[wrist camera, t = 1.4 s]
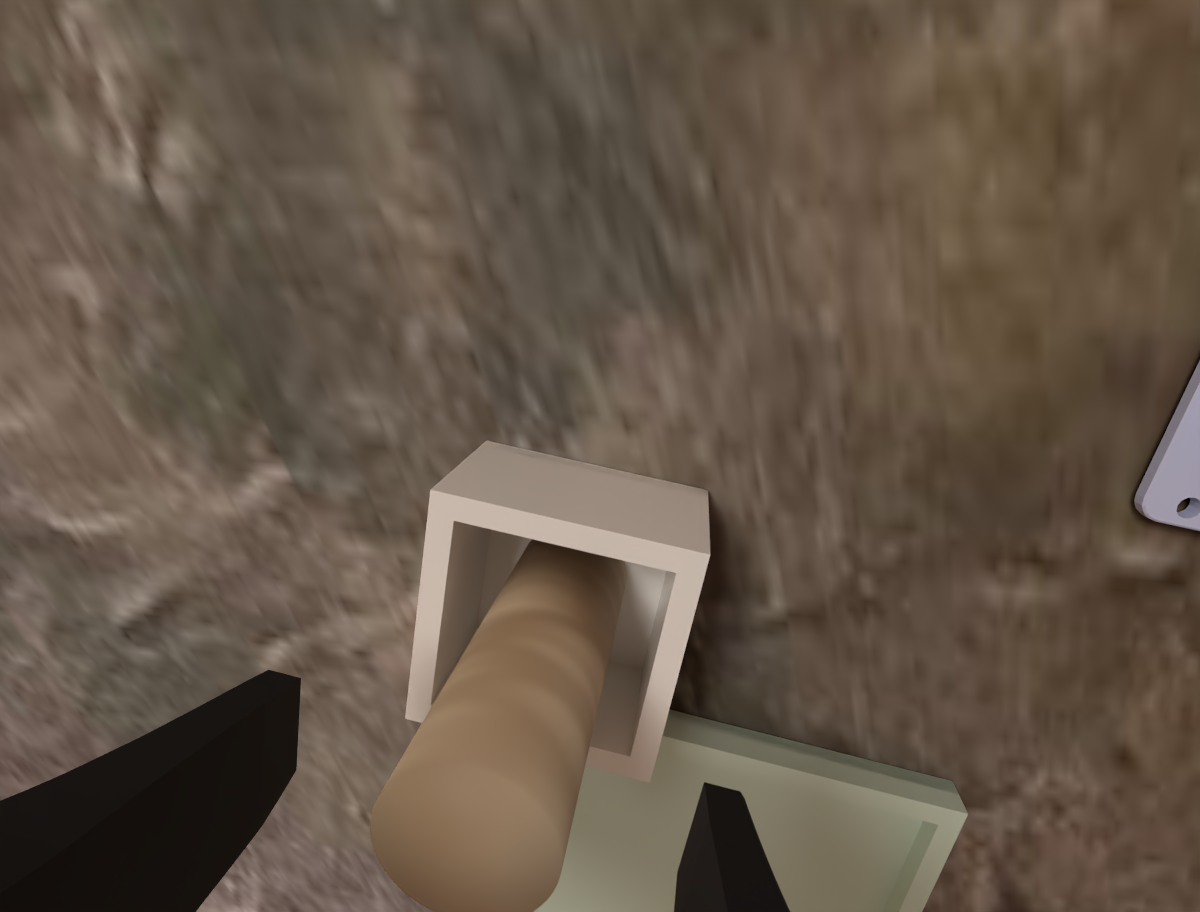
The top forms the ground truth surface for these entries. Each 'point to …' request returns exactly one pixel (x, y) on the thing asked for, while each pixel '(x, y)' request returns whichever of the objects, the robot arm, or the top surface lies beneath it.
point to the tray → (761, 824)
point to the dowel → (505, 743)
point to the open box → (579, 521)
